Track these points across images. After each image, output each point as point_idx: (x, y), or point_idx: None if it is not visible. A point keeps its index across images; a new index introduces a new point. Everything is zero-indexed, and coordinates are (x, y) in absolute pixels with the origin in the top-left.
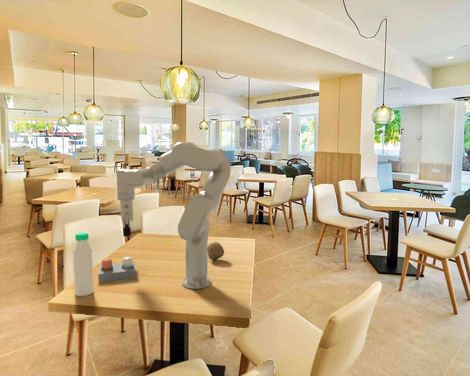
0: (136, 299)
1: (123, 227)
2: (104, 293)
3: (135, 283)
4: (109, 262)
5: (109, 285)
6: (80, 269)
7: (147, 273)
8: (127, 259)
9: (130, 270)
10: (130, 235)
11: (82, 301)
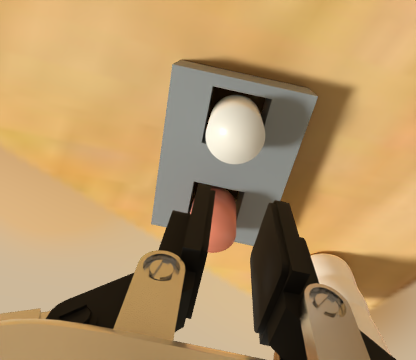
0: None
1: (191, 314)
2: (368, 227)
3: (358, 106)
4: (234, 223)
5: (307, 200)
6: None
7: (271, 10)
8: (256, 142)
9: (301, 124)
10: (287, 205)
11: (378, 285)
